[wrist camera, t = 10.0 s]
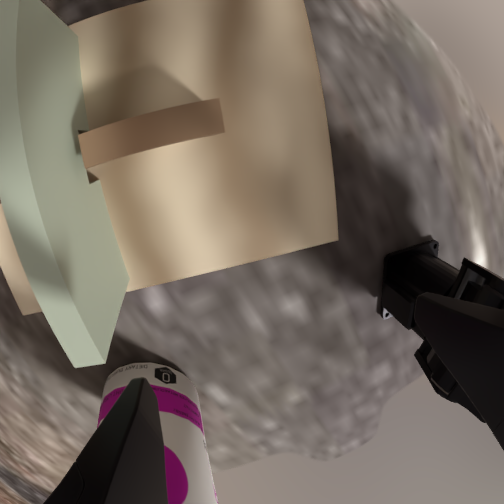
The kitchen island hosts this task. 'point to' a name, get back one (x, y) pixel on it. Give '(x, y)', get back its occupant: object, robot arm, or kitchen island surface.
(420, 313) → the robot arm
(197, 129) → the walnut slotted plate
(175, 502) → the supplement can
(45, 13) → the sage slotted plate
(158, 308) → the kitchen island surface
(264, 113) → the birch board
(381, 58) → the kitchen island surface
